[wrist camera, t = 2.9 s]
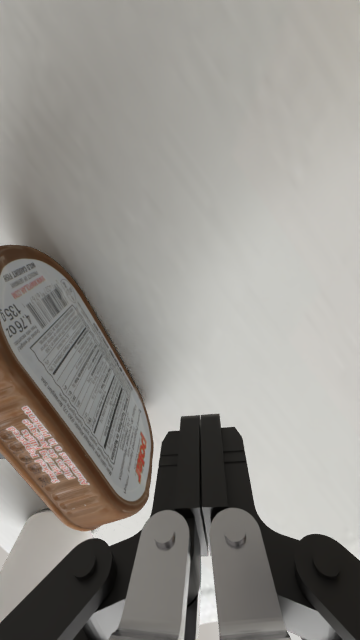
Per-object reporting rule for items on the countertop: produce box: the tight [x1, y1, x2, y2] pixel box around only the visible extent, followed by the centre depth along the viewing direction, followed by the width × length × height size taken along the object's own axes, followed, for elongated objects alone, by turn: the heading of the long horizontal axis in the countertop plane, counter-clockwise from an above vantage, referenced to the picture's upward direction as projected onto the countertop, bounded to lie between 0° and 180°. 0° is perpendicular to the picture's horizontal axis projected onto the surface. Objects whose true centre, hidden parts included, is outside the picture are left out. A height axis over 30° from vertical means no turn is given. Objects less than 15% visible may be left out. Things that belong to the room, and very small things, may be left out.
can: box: [0, 509, 93, 622], centre depth 22 cm, size 6×6×12 cm
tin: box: [0, 245, 153, 531], centre depth 15 cm, size 15×3×8 cm, turn 22°
